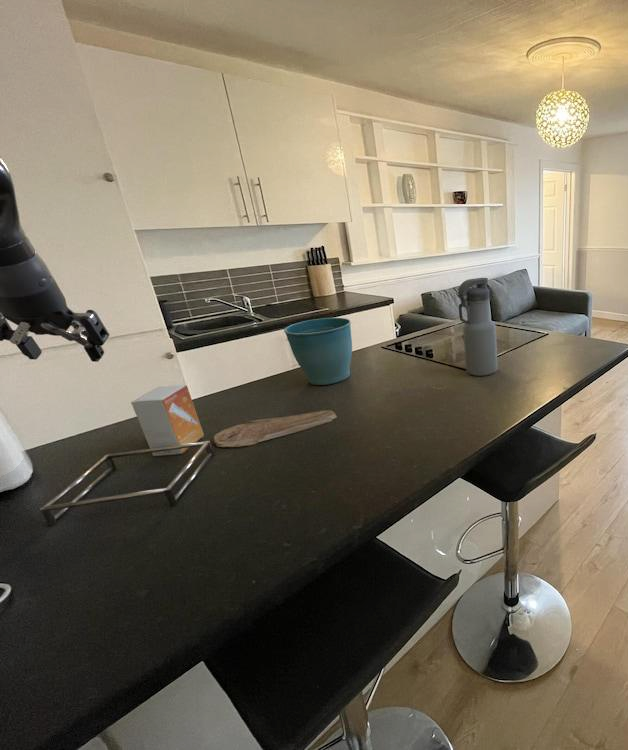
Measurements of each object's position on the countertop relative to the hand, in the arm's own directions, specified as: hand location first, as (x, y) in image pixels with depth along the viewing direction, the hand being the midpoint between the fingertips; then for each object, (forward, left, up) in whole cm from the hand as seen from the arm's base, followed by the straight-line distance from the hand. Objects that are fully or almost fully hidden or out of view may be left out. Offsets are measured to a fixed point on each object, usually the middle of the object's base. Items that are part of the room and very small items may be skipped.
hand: (67, 357), depth 73 cm
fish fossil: (+27, +11, -25) cm, 38 cm away
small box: (+7, +8, -25) cm, 27 cm away
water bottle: (+80, +32, -25) cm, 89 cm away
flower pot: (+34, +41, -25) cm, 58 cm away
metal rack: (+7, -6, -25) cm, 26 cm away
